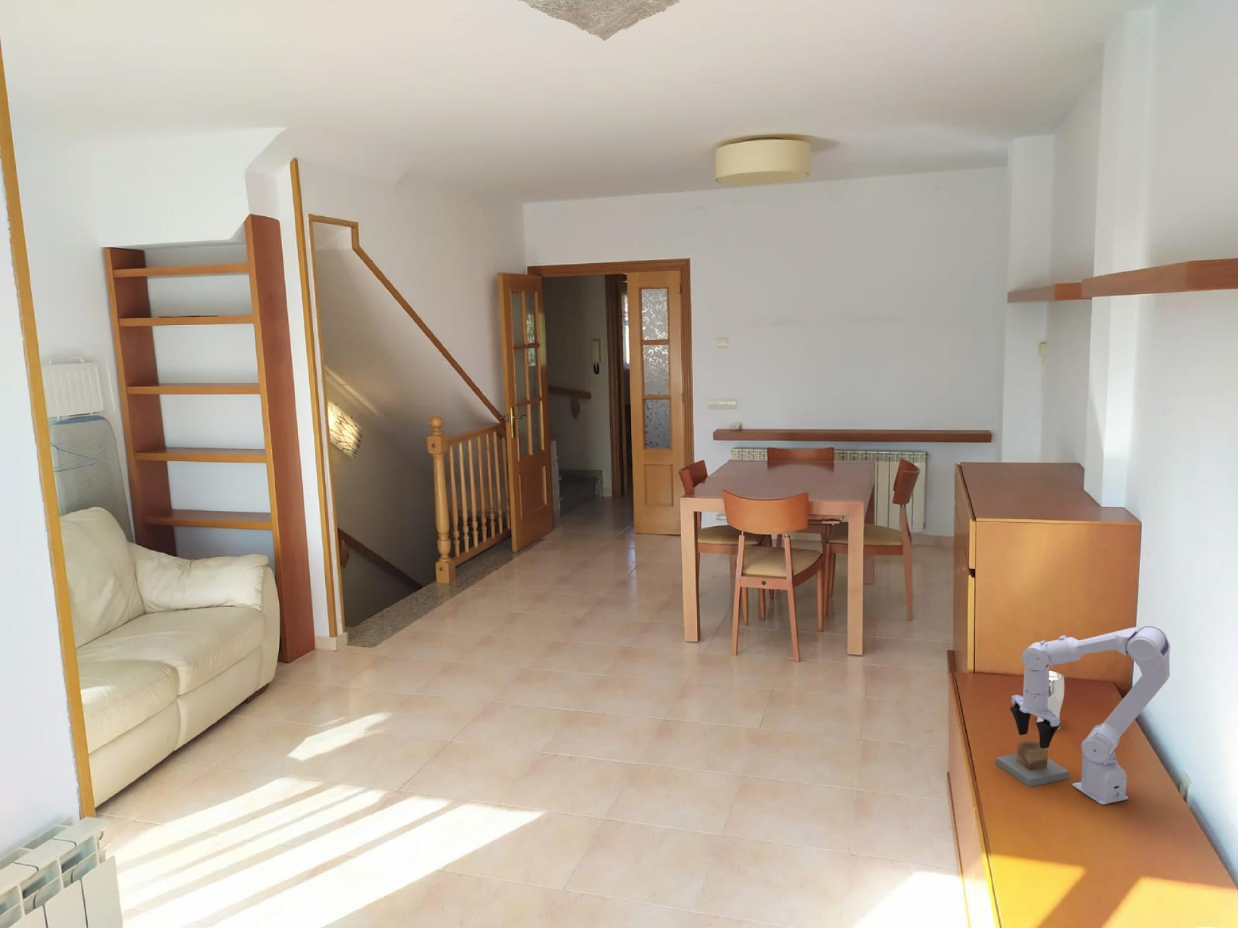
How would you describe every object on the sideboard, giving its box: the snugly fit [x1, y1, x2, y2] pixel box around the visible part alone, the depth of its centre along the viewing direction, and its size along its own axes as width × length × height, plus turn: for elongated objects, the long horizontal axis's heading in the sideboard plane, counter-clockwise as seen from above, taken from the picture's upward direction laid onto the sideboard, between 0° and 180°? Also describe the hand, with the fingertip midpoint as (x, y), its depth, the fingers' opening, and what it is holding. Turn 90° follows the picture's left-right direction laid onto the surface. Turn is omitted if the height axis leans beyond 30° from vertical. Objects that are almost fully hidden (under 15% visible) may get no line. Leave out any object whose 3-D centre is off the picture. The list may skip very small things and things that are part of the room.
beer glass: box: [1036, 670, 1065, 731], centre depth 250 cm, size 7×7×15 cm
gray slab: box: [995, 753, 1070, 788], centre depth 227 cm, size 12×12×2 cm
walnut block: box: [1016, 739, 1049, 770], centre depth 226 cm, size 5×5×5 cm
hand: (1033, 740), depth 226 cm, fingers open, 7 cm apart
